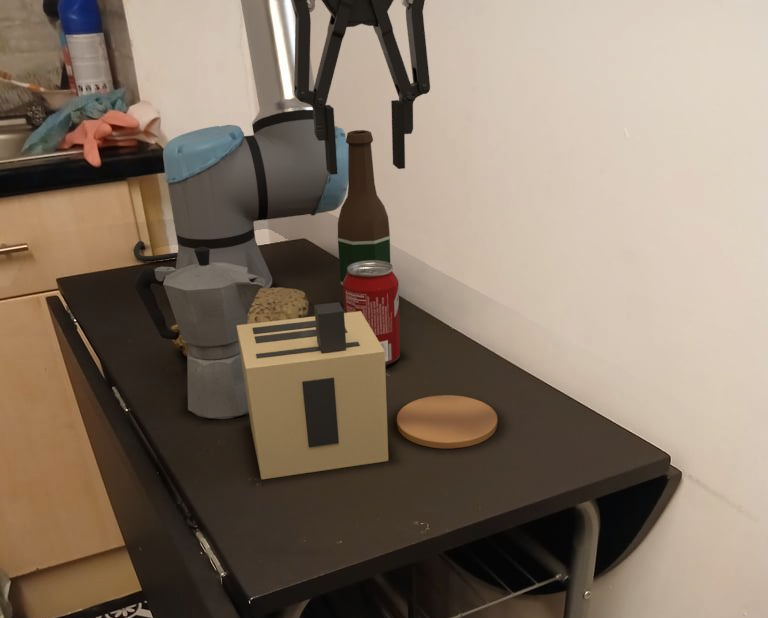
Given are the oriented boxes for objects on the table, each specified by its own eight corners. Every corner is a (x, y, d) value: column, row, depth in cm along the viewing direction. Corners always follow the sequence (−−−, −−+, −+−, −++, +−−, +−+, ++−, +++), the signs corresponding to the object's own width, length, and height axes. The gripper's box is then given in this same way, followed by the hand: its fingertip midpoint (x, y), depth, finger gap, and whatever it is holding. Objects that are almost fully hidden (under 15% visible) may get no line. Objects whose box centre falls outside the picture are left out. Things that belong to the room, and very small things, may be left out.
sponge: (206, 389, 99) (340, 323, 104) (179, 331, 95) (320, 266, 101) (179, 370, 110) (302, 311, 115) (153, 317, 106) (283, 259, 111)
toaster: (251, 428, 87) (236, 324, 80) (366, 413, 90) (360, 309, 83) (261, 480, 78) (245, 367, 71) (389, 461, 81) (385, 350, 74)
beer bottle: (332, 316, 115) (319, 136, 101) (353, 298, 121) (344, 125, 107) (381, 322, 112) (375, 138, 99) (401, 303, 118) (397, 127, 105)
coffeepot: (293, 389, 95) (277, 237, 85) (263, 426, 88) (241, 264, 77) (178, 378, 99) (149, 231, 89) (139, 413, 91) (103, 256, 81)
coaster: (386, 408, 90) (386, 402, 90) (478, 395, 92) (478, 389, 92) (411, 455, 81) (410, 448, 81) (511, 440, 83) (512, 433, 83)
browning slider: (317, 343, 76) (313, 304, 73) (341, 340, 76) (339, 301, 74) (321, 352, 74) (318, 313, 72) (346, 349, 74) (344, 310, 72)
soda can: (394, 372, 98) (392, 277, 91) (342, 370, 99) (335, 275, 93) (404, 351, 104) (402, 259, 97) (354, 348, 105) (349, 257, 98)
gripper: (254, -88, 71) (281, 183, 84) (466, -94, 74) (460, 168, 87) (247, -83, 77) (273, 169, 90) (443, -89, 80) (441, 156, 93)
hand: (365, 168), depth 88 cm, fingers open, 7 cm apart
